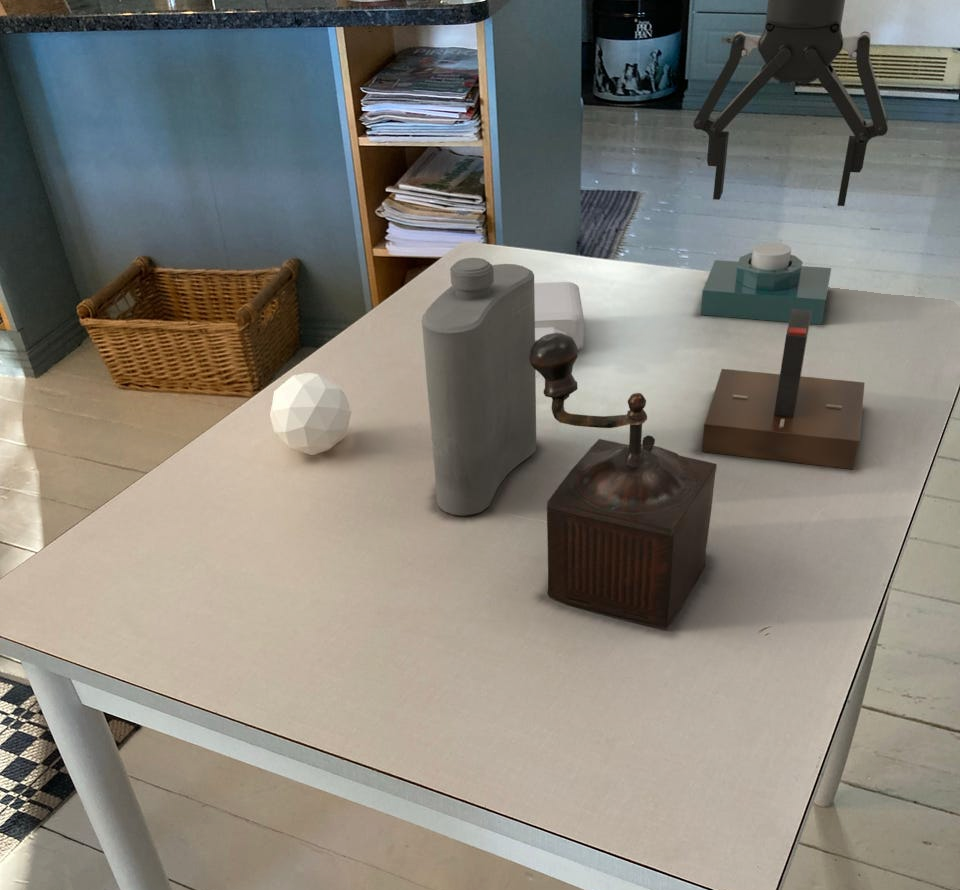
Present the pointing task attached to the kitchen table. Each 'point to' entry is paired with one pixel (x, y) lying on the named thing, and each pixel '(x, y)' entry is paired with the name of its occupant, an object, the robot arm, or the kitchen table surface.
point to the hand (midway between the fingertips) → (778, 199)
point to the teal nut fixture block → (764, 290)
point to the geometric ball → (310, 413)
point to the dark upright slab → (792, 362)
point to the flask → (480, 381)
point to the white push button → (771, 256)
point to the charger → (558, 310)
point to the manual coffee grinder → (622, 511)
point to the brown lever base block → (785, 420)
